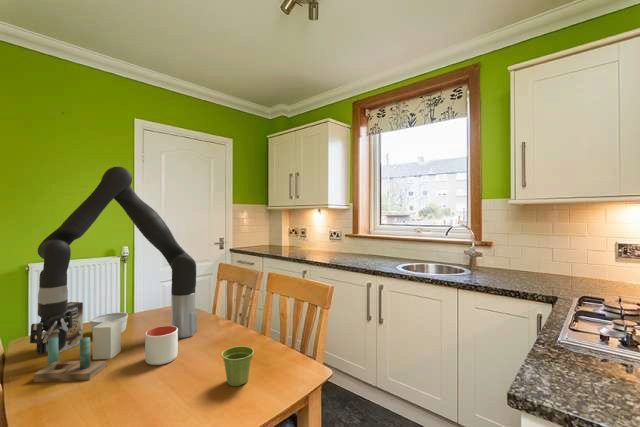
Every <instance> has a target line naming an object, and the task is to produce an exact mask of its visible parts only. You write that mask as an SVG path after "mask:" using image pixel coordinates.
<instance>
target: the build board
mask: <svg viewBox="0 0 640 427" xmlns="http://www.w3.org/2000/svg"><path fill="white" fill-rule="evenodd" d="M78 363H80V360H58V361H55V362H53V363H51V364H50V365H48V364H47V366H45V367H43V368H42V369H40V370H37V371H36V372H34V373H33V382H34V383H38V382H39V383H41V382H42V383H44V382H63V381H62V374H63V373H65V372H66V371H68V370H69V369H71V368H72V367H74V366H75V365H77V364H78Z"/></svg>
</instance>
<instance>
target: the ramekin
mask: <svg viewBox="0 0 640 427" xmlns="http://www.w3.org/2000/svg"><path fill="white" fill-rule="evenodd" d="M128 318H129V315H128V313H127V312H110V313H103V314H99V315H96V316H94V317H92V318H90V320H89V321H90V327H91V333H92V335H93V327H95V326H97V325H99V324H100V323H102V322H111V321H121V334H122V333H124V332H125V330H126V328H127V325H128V324H127V323H128Z"/></svg>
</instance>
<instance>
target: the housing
mask: <svg viewBox="0 0 640 427" xmlns="http://www.w3.org/2000/svg"><path fill="white" fill-rule="evenodd" d="M121 338H122V333H121V321H111V322H102V323H100V324H99V325H97V326H95V327H93V334H92V360H111V359H113V358H114V357H115V356H116V355H118V354H119V353H121V352H122V348H121V347H122V339H121Z"/></svg>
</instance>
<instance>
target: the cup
mask: <svg viewBox="0 0 640 427" xmlns="http://www.w3.org/2000/svg"><path fill="white" fill-rule="evenodd" d="M144 338H145V339H144V341H145V342H144V345H145V346H144V347H145V348H144V357H145V358H144V361H145V362H146V363H147V364H148V365H151V366H161V365H165V364H166V365H167V364H168V363H170V362H172V361H174V360H176V358H177V356H178V352H179V351H178V350H179V347H178V345H179V344H178V343H179V341H178V340H179V338H178V328H177V327H175V326H171V325H163V326H157V327H153V328H151V329H148V330H147V331H146V332H145V334H144Z"/></svg>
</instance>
